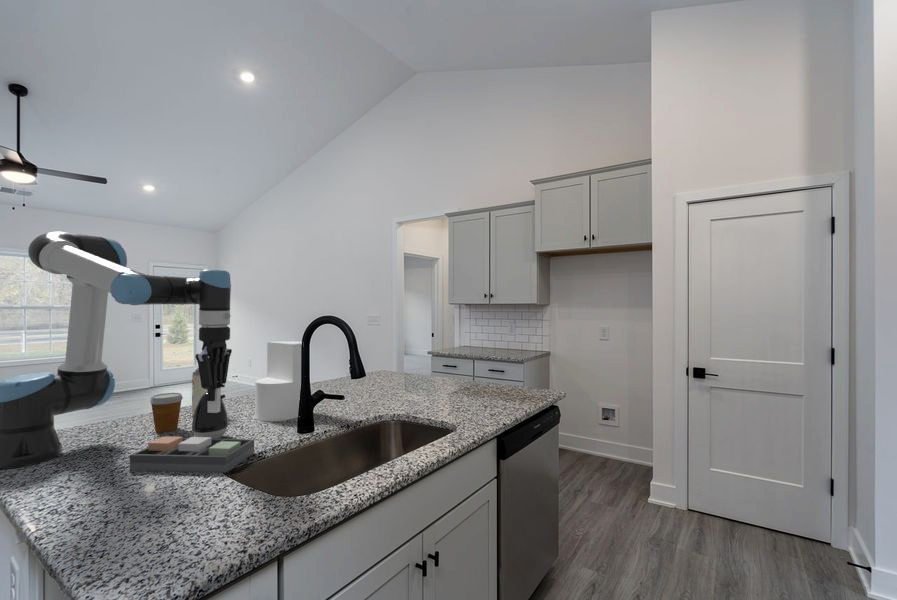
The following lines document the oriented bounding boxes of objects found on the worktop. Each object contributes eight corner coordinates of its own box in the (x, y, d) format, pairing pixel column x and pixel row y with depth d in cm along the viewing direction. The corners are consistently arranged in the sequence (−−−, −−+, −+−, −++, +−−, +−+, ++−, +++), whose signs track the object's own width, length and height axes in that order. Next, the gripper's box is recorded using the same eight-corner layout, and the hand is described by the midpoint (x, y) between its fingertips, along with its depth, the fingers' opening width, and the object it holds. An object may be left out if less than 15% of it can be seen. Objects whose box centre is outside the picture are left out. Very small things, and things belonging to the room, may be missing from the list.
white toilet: (286, 407, 176) (286, 340, 176) (312, 413, 166) (312, 342, 166) (246, 416, 162) (246, 343, 162) (271, 424, 152) (271, 346, 152)
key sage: (208, 455, 113) (208, 448, 113) (221, 448, 118) (221, 441, 119) (228, 456, 113) (228, 448, 113) (240, 448, 118) (240, 441, 118)
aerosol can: (196, 413, 167) (196, 363, 167) (215, 412, 168) (215, 362, 168) (189, 418, 160) (189, 365, 160) (208, 417, 161) (208, 365, 161)
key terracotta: (148, 450, 114) (148, 443, 114) (163, 443, 120) (163, 436, 120) (168, 450, 114) (168, 443, 114) (182, 443, 119) (182, 436, 119)
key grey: (178, 451, 113) (178, 443, 113) (192, 444, 119) (192, 436, 119) (198, 451, 113) (198, 443, 113) (211, 444, 119) (211, 437, 119)
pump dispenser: (212, 445, 130) (212, 395, 130) (183, 443, 132) (183, 394, 132) (235, 434, 139) (235, 388, 140) (208, 433, 142) (208, 387, 142)
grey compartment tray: (129, 470, 110) (129, 455, 110) (168, 451, 124) (168, 437, 124) (225, 472, 108) (225, 457, 108) (254, 453, 122) (254, 439, 122)
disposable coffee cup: (143, 432, 142) (143, 397, 142) (170, 425, 151) (170, 391, 151) (161, 435, 139) (162, 399, 139) (189, 427, 148) (189, 393, 148)
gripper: (213, 327, 109) (212, 418, 109) (241, 325, 122) (240, 406, 122) (185, 327, 110) (184, 418, 110) (216, 324, 123) (215, 405, 123)
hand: (213, 411), depth 116 cm, fingers closed
